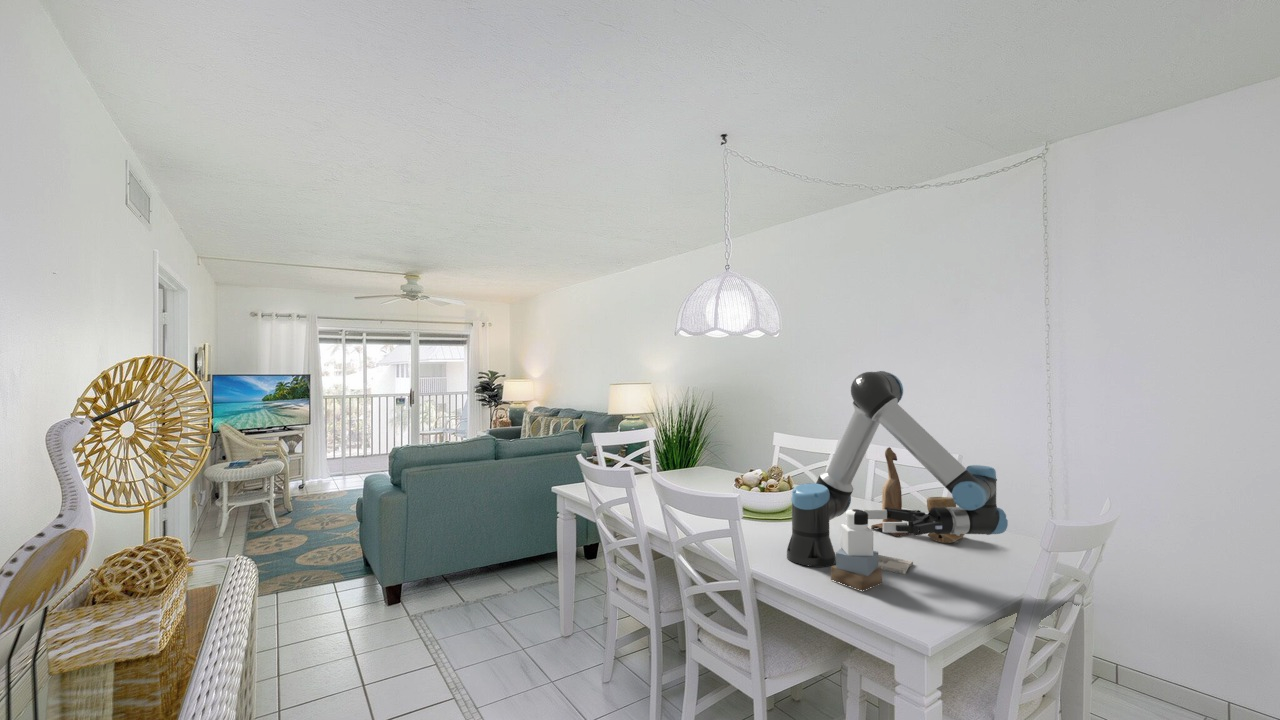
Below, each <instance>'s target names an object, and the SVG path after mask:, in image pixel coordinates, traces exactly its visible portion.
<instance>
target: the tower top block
mask: <svg viewBox="0 0 1280 720" xmlns="http://www.w3.org/2000/svg"><path fill="white" fill-rule="evenodd" d="M840 549H841V548H840ZM840 549H838V550H837V551H836V552H835V554H836V560H835V565H836V568H837V569H841V570H845V571H849V572H853V573H857V574H861V575H865V576H869V575H870V574H871V573H872V572H873V571H874V570H876V569H877V568H878V555H879V551H878V550H877V551H876V550H873V556H849V555H848V554H847V553H846V552H845V551H844V550H843V549H841V550H840Z"/></svg>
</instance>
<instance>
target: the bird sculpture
mask: <svg viewBox="0 0 1280 720" xmlns="http://www.w3.org/2000/svg"><path fill="white" fill-rule="evenodd" d="M884 458H885V460H886V465H887V472H888V478H887V479H886V481H885V482H884V484H883V487H882V491H881V493H882V496H881V498H882V499H881V500H882V501H881V510H885V508H886V507H887V508H895V509H903V505H902V504H903V502H902V501H903V499H902V495H903V494H902V486H901V481H900V478H899V474H898V471H897V468H896V466H895V463H894V461H897V462H898V458H897V453H896V452H894V450H893V449H892V448H891V447H890V446H889V447H886V449H885V452H884ZM883 522H903V521H902V520H896V519H890V518H888V520H885V519H882V522H880V523H876V524H872V525H871V527H870V529H871V530H872V531H873V530H876V529H879V528H882V529H883ZM911 534H912V533H909V532H907V533H892V535H893V536H894V537H895V538H896V537H897V538H898V537H901V536H906V535H911Z"/></svg>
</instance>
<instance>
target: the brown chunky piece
mask: <svg viewBox="0 0 1280 720" xmlns="http://www.w3.org/2000/svg"><path fill="white" fill-rule="evenodd" d="M933 507H945V508H947V507H957V504H956V503H955V502H954V500H953V497H952V496H929V497H927V498H926V509H927V510H928V511H927V512H928V513H929V511H930V509H931V508H933ZM965 535H966V534H960V536H957V535H956V534H935V533H934V532H933V533H927V536H928V538H931V539H932V540H933V541H935V542H938V543H941V544H951V543H955V542H957V541H959V540H960V539H962V538H963V537H964V536H965Z"/></svg>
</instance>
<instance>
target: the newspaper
mask: <svg viewBox="0 0 1280 720" xmlns="http://www.w3.org/2000/svg"><path fill="white" fill-rule="evenodd" d="M841 549H842V548H841V547H840V549H839V550H841ZM835 559H836V553H835ZM913 565H914V561H912V560H908V559H907V560H906V559H901V558H898V557H891V556H887V555H881V554H878V568H880V569H882V570H883V571H886V572H887V571H888V572H891V571H892V572H893V573H898V574H902V575H907V571H908V569H909V568H910V567H912V566H913Z"/></svg>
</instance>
